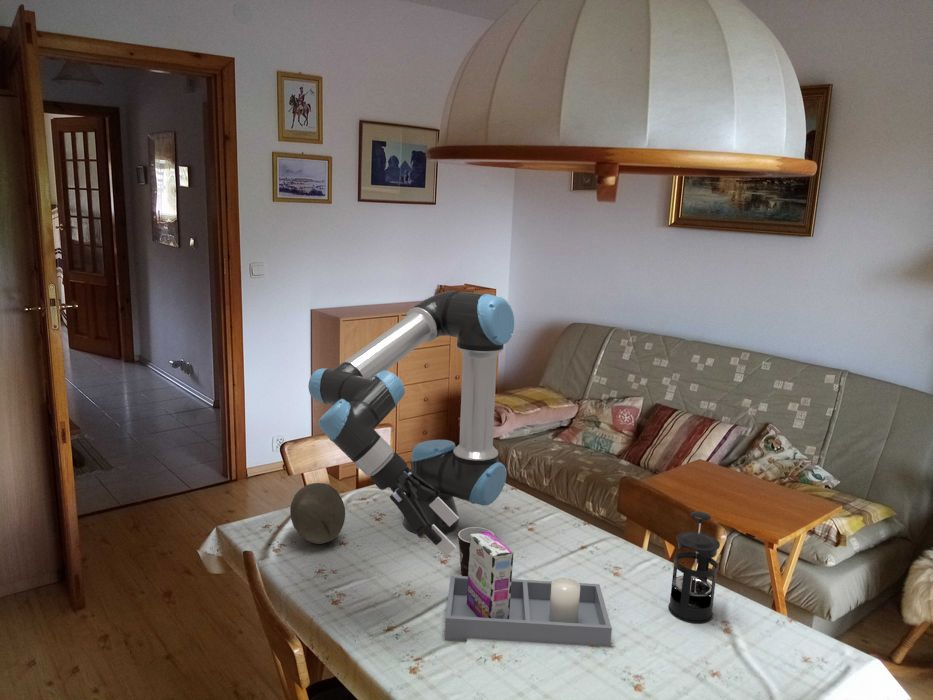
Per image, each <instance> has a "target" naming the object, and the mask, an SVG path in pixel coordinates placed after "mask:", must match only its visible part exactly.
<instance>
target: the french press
mask: <svg viewBox="0 0 933 700" xmlns="http://www.w3.org/2000/svg"><path fill="white" fill-rule="evenodd" d="M690 516H691V517H692V518H693V519H696V520H697V523H698V531H682V532H680V533H678V534H677V535H676V541H677V548H678V550H682V549H689V550H693V551H683V552H678V553H677V554H675V555H674V558H673V559H674V561H673V571H672V579H671V580H672V582H671V589H670V596H669V597H670V598H669V603H668V606H667V608H668V612H669V613H670V614H671V615H672V616H673V617H675V618H676V619H678V620H680V621H683V622H686V623H689V624H697V625H699V624H706V623H708V622H710V621H712V619H713V615H714V613H713V606H714V597H715V589H716V581H717V575H718V574H717V571H718V562H717V561H716V560H715V559H714V558H715V557H716V556H717V553H718V550H719V549H720V546H721V543H720V541H719V540H718V539H717V538H715V537H713V536H712V535H710V534H707V533H705V532H704V533H703V532H701V526H702V524H703V521H709V520H711V519H712V516H711V515H710V514H709V513H707V512H704V511H692V512H690ZM694 551H695V552H694ZM684 558H686V559H687V558H688V559H689V558H691V559H694V568H693V569H691V568H687V567H685V566H683V565H682V564H680V563H679V562H678V561H679V560H680V559H684ZM710 565H711V566H712V567H713V569H711V570H709V567H710ZM678 571H679V572H680V573H682V575H679V576H677V575H678V574H677V573H678ZM708 578H712V581H711V583H710V582H709V581H708ZM690 603H691V604H695V605H697V606H699V607H701V608H695V607H689V604H690Z"/></svg>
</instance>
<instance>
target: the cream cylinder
mask: <svg viewBox="0 0 933 700" xmlns="http://www.w3.org/2000/svg"><path fill="white" fill-rule="evenodd" d="M579 583H580V582H578V581H576V580H575V579H572V578H569V577H558V578H555V579H553V580H552V583H551V597H550V611H549V620H550V622H563V623H578V611H579V598H580V584H579Z"/></svg>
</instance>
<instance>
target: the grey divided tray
mask: <svg viewBox="0 0 933 700" xmlns="http://www.w3.org/2000/svg"><path fill="white" fill-rule="evenodd" d="M552 581H553V580H552ZM552 581H549V580H536V579H535V580H534V579H533V580H532V579H517V578H512V581H511V596H510V611H509V619H497V618H480V617H478V616H477V615H476V614H475V613H474V611H473V610H472V609H471V608H470V607H469V606H468V604H467V588H468V576H462V575H450V580H449V587H448V593H447V595H448V596H447V604H446V612H445V621H444V623H445V624H444V641H455V642H468V639H475V640H478V639H479V640H496V641H509V642H510V641H511V642H528V643H546V644H559V645H560V644H561V645H574V646H575V645H577V646H591V647H593V646H594V647H608V648H609V647H611V641H612V631H613V630H612V629H613V628H612V624H611V621H610V617H609V613H608V611H607V607H606V602H605V599H604V596H603V592H602V588H601V585H600V584H599V583H588V582H587V583H584V582H578V583H579V584H580V598H579V611H578V623H563V622H550V620H549V611H550V597H551V583H552Z"/></svg>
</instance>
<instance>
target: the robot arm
mask: <svg viewBox="0 0 933 700" xmlns="http://www.w3.org/2000/svg"><path fill="white" fill-rule="evenodd" d="M514 329H515V316H514V311H513V309H512V307H511V305H510V304H509V302H508V301H507V300H506V299H505V298H503V297H502V296H499V295H494V294H491V293H490V294H489V293H481V292H469V291H461V290H448V291H447V290H446V291H443V292H439V293H437V294H435V295H433V296H430V297H428V298H426V299H424V300H422V301H420V302H419V303H417V304H416V305H414V306H413V307H411V308H410V309H409V310H407V313H406V315H405V317H404V318H403V319H401V320H400V321H399V322H397V323H395V325H393V326H392V327H390V328H389V329H388V330H386V331H385V332H384V333H382V334H380V335H379V336H377V338H375V339H374V340H372V341H371V342H370V343H368V344H367V345H365V346H364V347H362V348H361V349H359V350H358V351H357V352H355V353H354V354H353V355H351V356H350V357H349V358H347V359H346V360H344V361H343V362H341V363H340V364H338V365H337V366H336V367H334V368H332V369H331V368H327V367H326V368H323V367H322V368H319V369H316V370H315V371H314V372H313V373H312V374H311V376H310V378H309V380H308V385H307V386H308V391H309V392H308V393H309V395H310V396H311V398H312V399H314V400H315V401H318V402H320V403H323V404H325V405H330V406H331V407H330V408H329V409H328V410H327V411H325V413H323V414H322V416H321V417H320V418H319V419H318V422H317V423H318V424H317V425H318V427H319V428H320V430H322V432H323V433H324V434H325V435H326V437H327V438H328V440H329V441H331V442H332V443H334V445H336V446H337V448H338V449H340V450H341V451H342V452H343V453H344V454H345V455H346V456H347V458H349V460H351V461H352V463H353V464H355V469H357V470H360V471H362V472H363V474H364V475H366V476H370V477H369V479H370V481H371V482H372V483H373V484H374V485H375V486H376V487H377V488H378V489H379V490H381V491H384V490H386V489H387V488H388V489H390V490H391V491H392V493H391V495H390V496H389V498H390V500H391V502H393V503H394V504H395V505H396V507H397V508H398V509H399V511H400V512H401V514H402V515H403V525H404V527H405V528H406V529H407V530H409V531H410V532H412V533H414V534H416V535H417V537H418V538H422V537H423V536H425V538H426V539H428V541H429V542H430V543H432V544H433V546H435V548H436V549H437V550H438V551H439V552H440V553H441V554H442V555H443V556H444V557H446V558H447V556H449V555H450V554H451V553H452V552H453V551H455V550H456V549H457V546H456V545H455V544H454V543H453V542H452V541H451V540H450V539H449V538H448V537H447V536H446V534H448V533H451V532H454V531H455V530H456V529H457V528H458V527H459V522H460V521H459V519H460V517H459V516H460V515H459V513H458V509H457V505H456V502H455V498H457V499H459V500H463V501H466V502H468V503H470V504H475V505H480V506H483V507H484V506H488V505H491V504H492V503H494V502H495V501H496V500H497V499H498V498H499V496H500V495H501V493H502V491H503V489H504V487H505V485H506V480H507V476H508V475H507V468H506V466H505V465H504V464H503V463H502V462H499V451H498V449H497V448H496V447H495V446H494V429H495V428H494V426H495V425H494V424H495V423H494V422H495V405H496V404H495V403H496V401H495V400H496V385H497V366H498V363H497V362H498V361H497V360H498V359H497V358H498V355H499V354H500V353H501V352H502V351H503V350H504V345H505V344H507V343H508V342H510V340H511V338H512V334H513V333H514ZM442 336H443V337H446V336H447V337H453V338H457V339H456V348H457V349H458V350H459V352H460V353H461V354H462V363H461V364H462V365H461V366H462V370H461V396H460V397H461V398H460V402H461V403H460V423H459V444H458V445H457V446H456V443H455V442H454V441H452V440H449V439H432V440H426V441H425V440H424V441H421V442H418V443H417V444H415V445H414V446H413V448H412V452H411V459H410V465H411V466H410V468H411V469H410V468H409V467H408V463H407V462H406V460H404V459H403V457H401V456H400V454H398V452H394V448H393V447H392V446H391V445H390V444H389V443H388V441H386V440H385V439H384V438H383V437H382V436H381V435H380V434H379V433H378V432H377V430H375V429H376V428H377V427H378V426H379V425H380V423H382V421H383V420H384V419H385V418H386V417H387V416H388V415H389V414H390V413H391V412H392V411H393V410H394V409H395V408H396V407H397V406H398V404H399V402H401V400H402V399H403V397H404V396H405V393H406V392H405V391H406V388H405V386H404V382H402V380H401V378H400V377H399V376H397V375H396V374H395V373H394V372H391V371H389V370H390V369H391V368H392V367H393V366H394V365H396V364H398V362H400V361H401V360H403V359H404V358H405V357H406V356H407V355H409V354H410V353H412V352H413V351H414V350H415V349H416V348H418V347H419V346H420V345H422V344H423V343H430V342H432V341H434V340H435V339H436V338H438V337H442Z"/></svg>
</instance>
